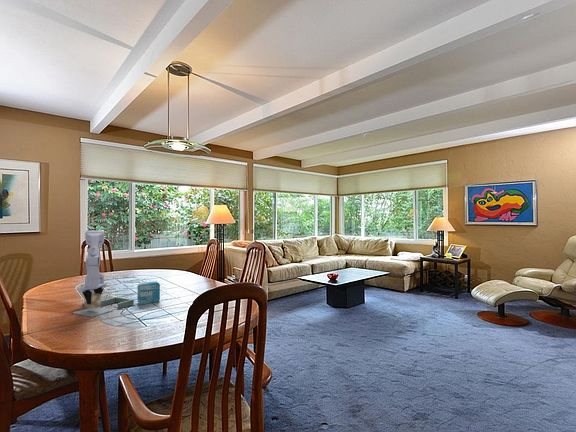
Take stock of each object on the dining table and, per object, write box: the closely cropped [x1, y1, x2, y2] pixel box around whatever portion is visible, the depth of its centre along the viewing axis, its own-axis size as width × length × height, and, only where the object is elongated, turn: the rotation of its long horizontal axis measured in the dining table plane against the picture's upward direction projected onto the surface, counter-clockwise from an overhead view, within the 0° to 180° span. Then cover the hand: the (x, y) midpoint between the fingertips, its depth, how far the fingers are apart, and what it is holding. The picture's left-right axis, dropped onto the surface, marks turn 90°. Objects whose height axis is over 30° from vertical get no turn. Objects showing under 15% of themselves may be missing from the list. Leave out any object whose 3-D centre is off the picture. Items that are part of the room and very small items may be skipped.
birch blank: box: [84, 293, 101, 309], centre depth 172 cm, size 4×7×7 cm, turn 66°
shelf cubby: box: [100, 296, 135, 310], centre depth 185 cm, size 15×10×3 cm, turn 66°
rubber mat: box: [72, 307, 114, 318], centre depth 172 cm, size 16×12×1 cm
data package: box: [136, 281, 161, 305], centre depth 192 cm, size 12×4×12 cm, turn 124°
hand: (92, 302), depth 172 cm, fingers closed on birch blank, 4 cm apart
